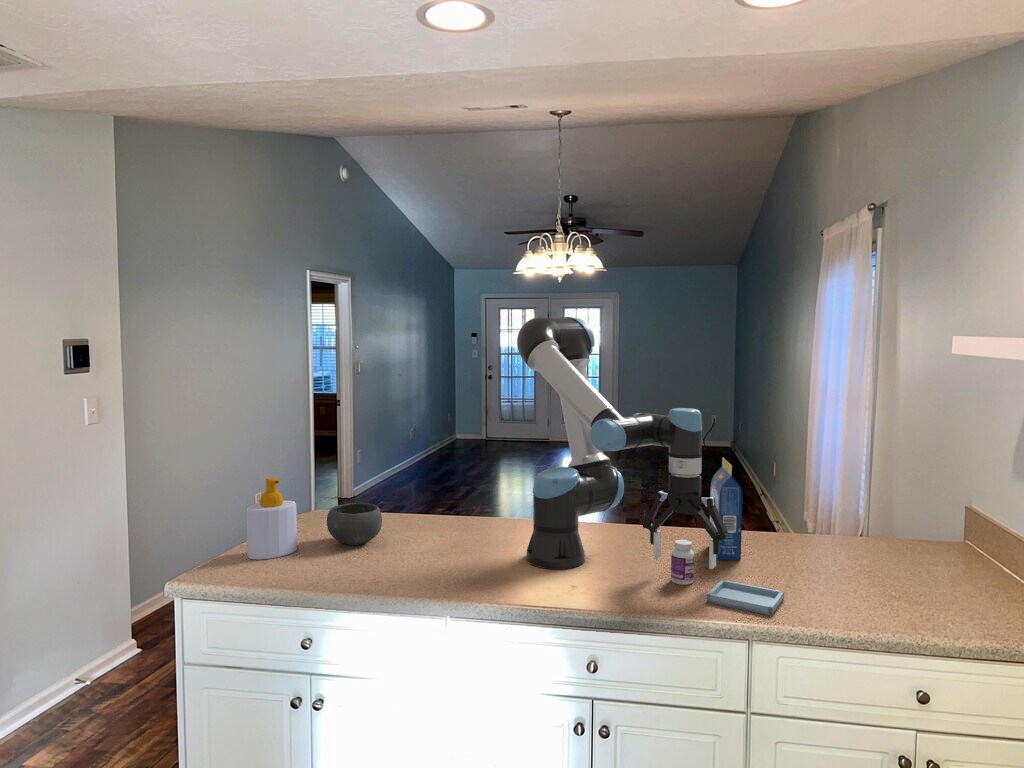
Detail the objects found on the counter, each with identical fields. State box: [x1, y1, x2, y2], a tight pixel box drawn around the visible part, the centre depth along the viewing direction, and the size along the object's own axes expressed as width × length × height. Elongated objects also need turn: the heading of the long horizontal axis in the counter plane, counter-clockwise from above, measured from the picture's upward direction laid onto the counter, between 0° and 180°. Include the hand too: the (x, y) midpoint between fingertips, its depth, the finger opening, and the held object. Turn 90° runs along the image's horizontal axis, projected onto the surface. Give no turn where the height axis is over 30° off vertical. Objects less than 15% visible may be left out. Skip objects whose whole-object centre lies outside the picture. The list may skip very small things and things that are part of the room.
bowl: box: [326, 502, 383, 546], centre depth 204 cm, size 15×15×10 cm
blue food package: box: [708, 457, 744, 561], centre depth 195 cm, size 6×12×25 cm, turn 175°
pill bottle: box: [670, 539, 695, 586], centre depth 174 cm, size 5×5×10 cm
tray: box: [706, 579, 785, 617], centre depth 163 cm, size 14×11×2 cm
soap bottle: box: [246, 476, 298, 561], centre depth 193 cm, size 13×8×20 cm, turn 131°
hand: (684, 562), depth 174 cm, fingers open, 13 cm apart
